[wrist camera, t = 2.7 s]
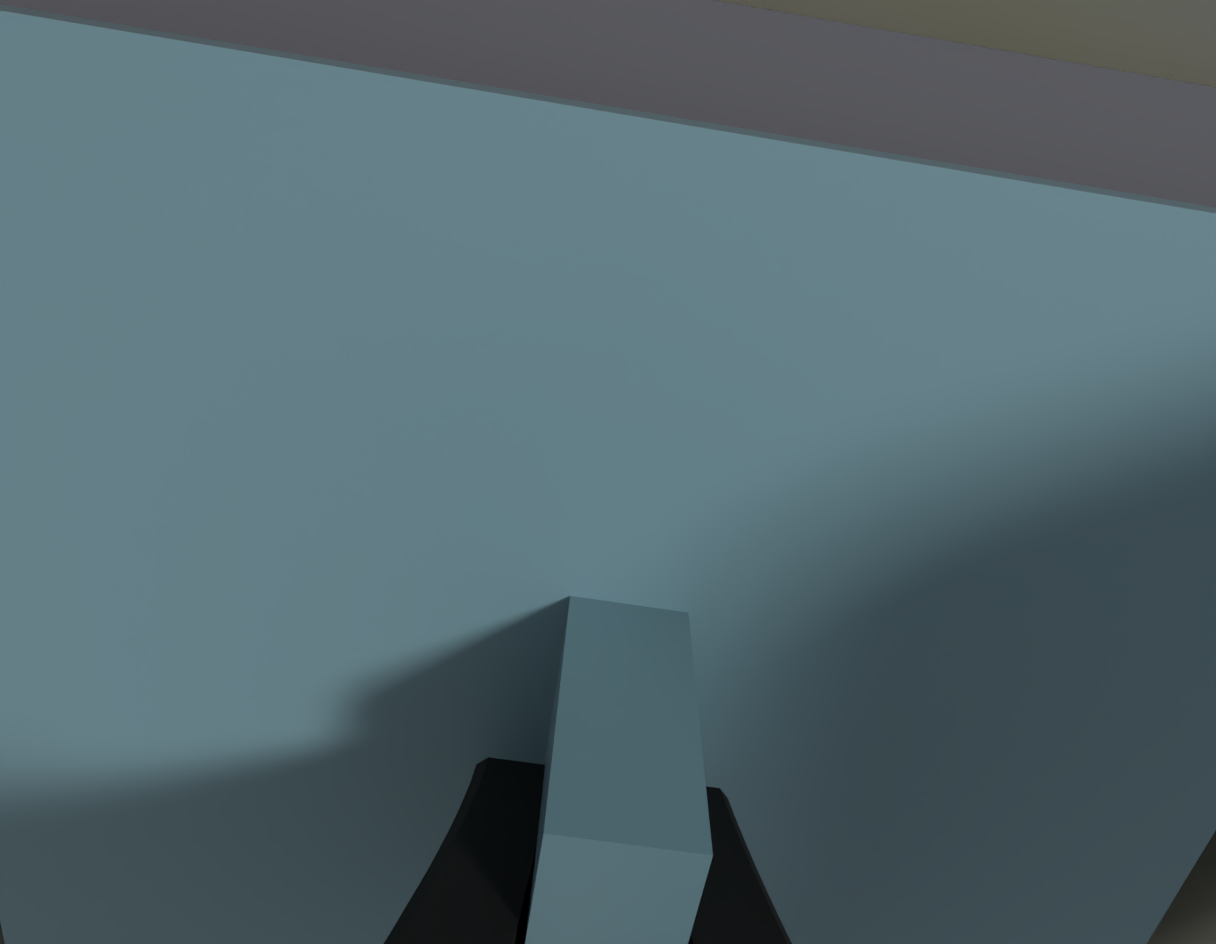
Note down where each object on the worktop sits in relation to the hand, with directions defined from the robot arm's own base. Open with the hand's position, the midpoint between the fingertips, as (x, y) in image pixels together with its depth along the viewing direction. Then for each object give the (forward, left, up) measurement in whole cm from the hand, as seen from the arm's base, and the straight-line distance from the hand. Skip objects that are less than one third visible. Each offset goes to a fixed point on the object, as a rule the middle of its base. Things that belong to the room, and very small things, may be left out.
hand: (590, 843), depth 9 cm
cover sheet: (0, 0, -2) cm, 2 cm away
